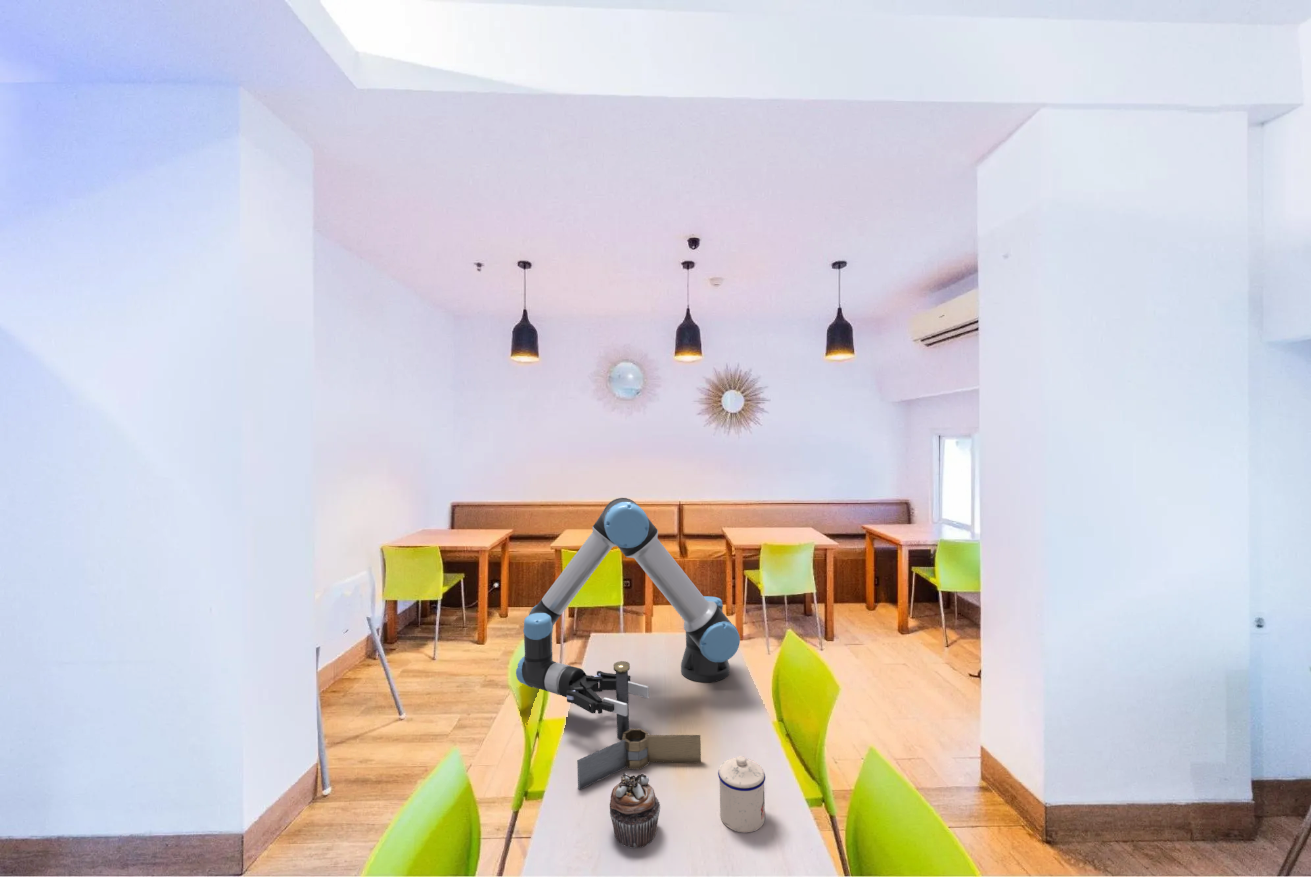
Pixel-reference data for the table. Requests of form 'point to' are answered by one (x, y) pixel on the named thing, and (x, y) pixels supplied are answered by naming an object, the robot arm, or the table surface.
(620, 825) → the cupcake
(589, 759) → the hinge leaf
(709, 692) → the table surface
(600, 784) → the table surface
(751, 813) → the teacup with lid
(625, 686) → the hinge pin
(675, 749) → the tan flat knuckled part
